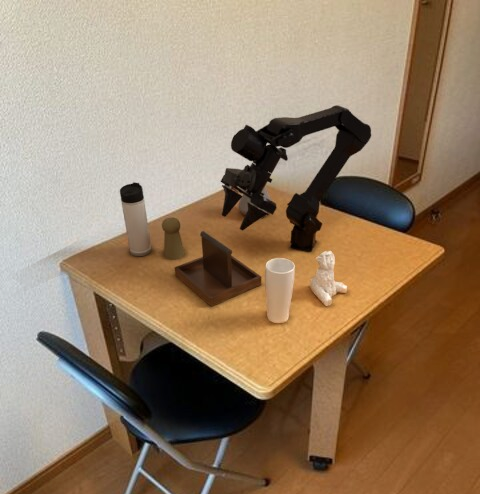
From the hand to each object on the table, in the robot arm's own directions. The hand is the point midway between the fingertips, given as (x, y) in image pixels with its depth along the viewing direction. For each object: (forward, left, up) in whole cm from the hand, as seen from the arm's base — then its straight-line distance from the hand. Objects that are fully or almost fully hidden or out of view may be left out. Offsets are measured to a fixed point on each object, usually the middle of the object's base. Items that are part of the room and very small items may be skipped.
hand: (231, 222), depth 130 cm
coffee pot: (+7, -30, -14) cm, 34 cm away
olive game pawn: (+19, -2, -14) cm, 24 cm away
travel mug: (+29, 0, -14) cm, 33 cm away
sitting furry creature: (-27, +2, -14) cm, 30 cm away
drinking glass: (-19, +16, -14) cm, 29 cm away
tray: (+2, +7, -14) cm, 16 cm away
